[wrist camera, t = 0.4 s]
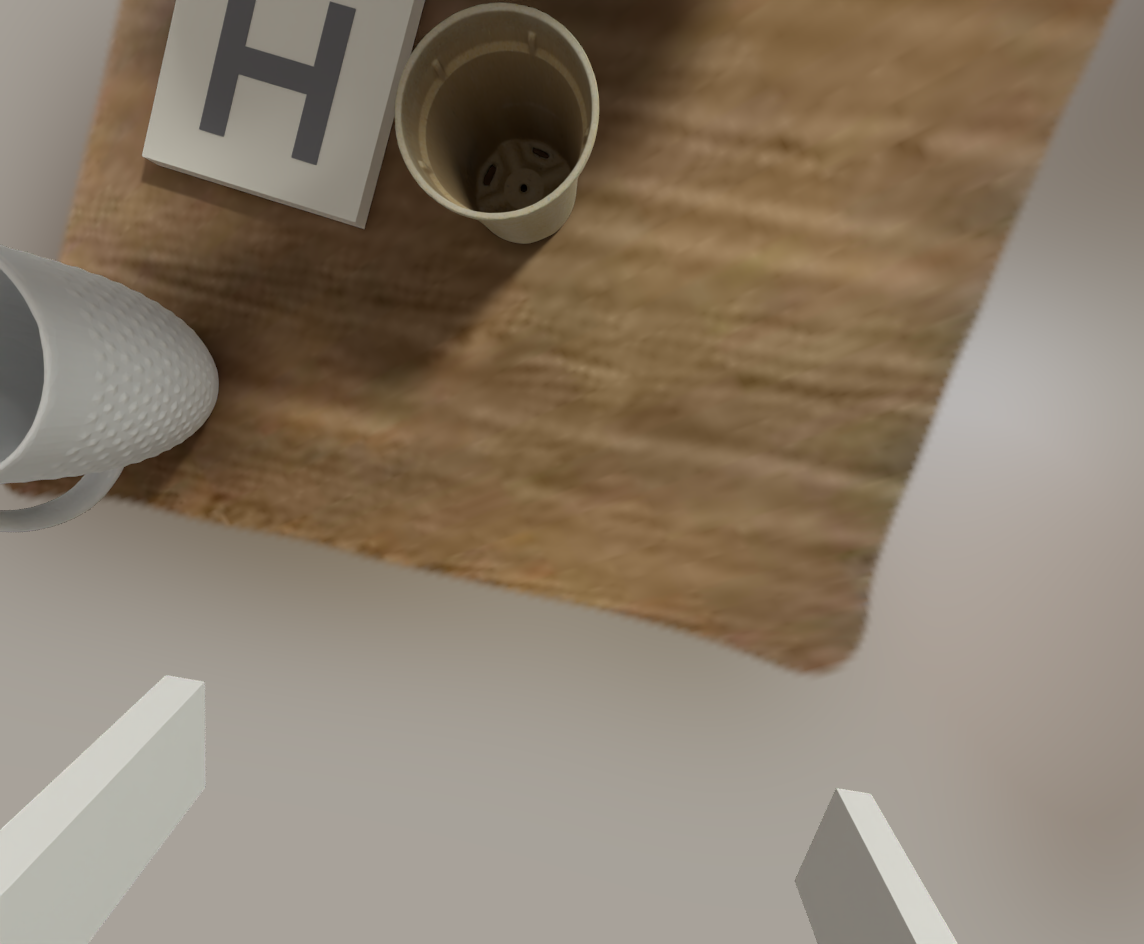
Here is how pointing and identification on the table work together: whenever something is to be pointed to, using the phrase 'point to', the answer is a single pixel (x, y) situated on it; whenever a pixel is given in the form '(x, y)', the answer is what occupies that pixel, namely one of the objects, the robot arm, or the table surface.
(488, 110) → the flower pot
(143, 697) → the robot arm
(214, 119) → the letter board
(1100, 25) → the table surface
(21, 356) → the mug
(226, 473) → the table surface
